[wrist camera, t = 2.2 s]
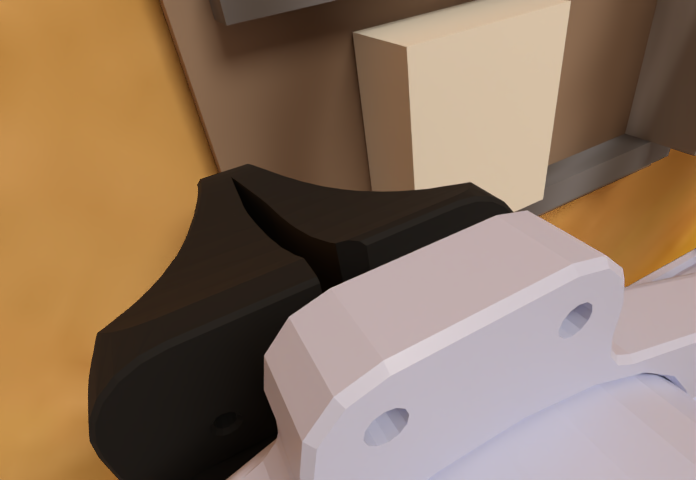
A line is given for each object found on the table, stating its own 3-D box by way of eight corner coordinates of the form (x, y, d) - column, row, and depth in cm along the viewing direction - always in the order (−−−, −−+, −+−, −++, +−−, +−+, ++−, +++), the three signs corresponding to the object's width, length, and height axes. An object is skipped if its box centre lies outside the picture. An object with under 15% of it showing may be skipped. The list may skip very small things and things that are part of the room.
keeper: (497, -6, 13) (571, 0, 11) (488, 170, 17) (542, 199, 15) (352, 32, 12) (406, 46, 10) (375, 215, 16) (418, 254, 13)
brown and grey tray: (727, -185, 15) (878, -219, 12) (635, 159, 23) (714, 188, 20) (123, -103, 9) (139, -130, 6) (270, 322, 17) (308, 396, 14)
